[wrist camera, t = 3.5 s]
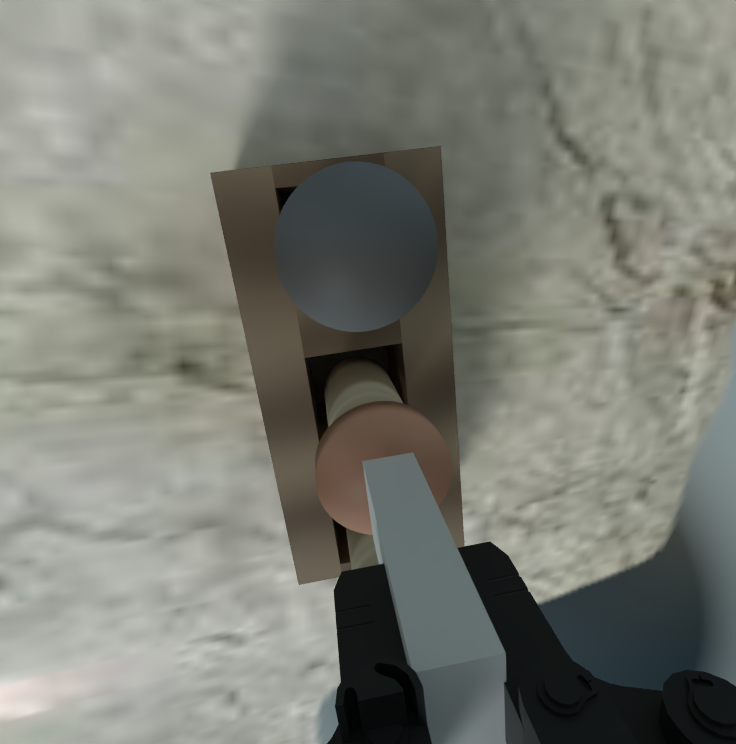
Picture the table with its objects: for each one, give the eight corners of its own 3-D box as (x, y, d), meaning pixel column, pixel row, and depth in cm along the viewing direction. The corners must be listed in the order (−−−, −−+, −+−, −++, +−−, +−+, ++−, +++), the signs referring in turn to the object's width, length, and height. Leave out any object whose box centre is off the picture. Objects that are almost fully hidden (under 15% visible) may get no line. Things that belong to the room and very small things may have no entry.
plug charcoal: (276, 189, 19) (258, 172, 11) (381, 176, 19) (432, 151, 12) (294, 295, 20) (289, 342, 13) (392, 281, 21) (442, 319, 13)
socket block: (229, 181, 22) (210, 172, 17) (412, 160, 23) (440, 146, 18) (299, 524, 29) (298, 584, 24) (439, 499, 30) (464, 552, 25)
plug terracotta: (304, 351, 21) (305, 426, 14) (397, 337, 22) (448, 402, 14) (319, 436, 23) (326, 546, 15) (406, 422, 23) (456, 521, 16)
